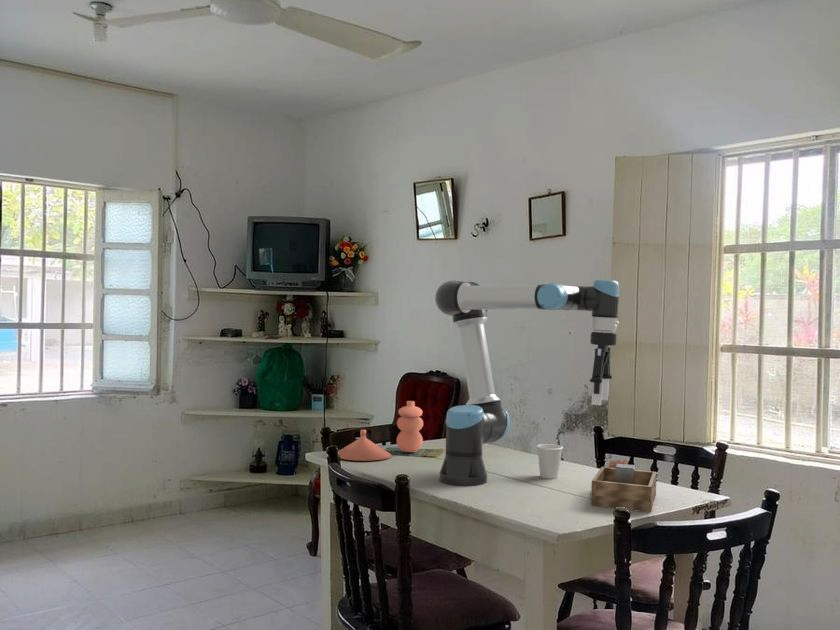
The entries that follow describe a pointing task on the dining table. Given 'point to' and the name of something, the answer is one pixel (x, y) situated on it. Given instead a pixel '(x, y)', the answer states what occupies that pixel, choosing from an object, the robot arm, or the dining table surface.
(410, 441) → the ceramic vessels
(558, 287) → the robot arm
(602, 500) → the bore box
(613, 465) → the flower
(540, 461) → the dixie cup
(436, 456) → the dining table surface
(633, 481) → the peg
